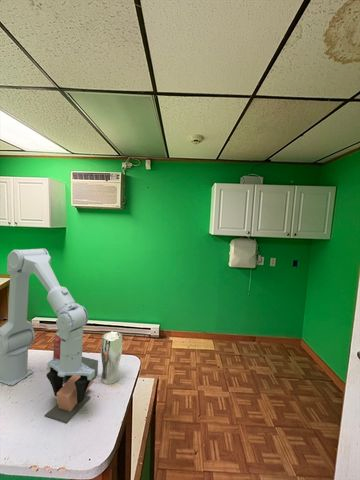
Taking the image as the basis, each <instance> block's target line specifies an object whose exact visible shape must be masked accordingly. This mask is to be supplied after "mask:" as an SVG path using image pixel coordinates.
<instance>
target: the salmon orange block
mask: <svg viewBox="0 0 360 480" xmlns="http://www.w3.org/2000/svg"><path fill="white" fill-rule="evenodd" d="M79 378H80V376H78V375H73V376H72V377H71V378H70V379H68V380H67V381H66V382H65V383H64V384H63V387H62V388H61V389H60V390H59V391H58V392H57V393H56V394H57V397H56V401H57V404H58V408H60V409H64V410H67V411H70V412H71V410H72V409H73V408H74V407H75V405H76V404H77V389H76V386H75V381H77V380H78V379H79ZM93 382H94V381H93V380H92V379H91V381H90V383H89V385H88V388H87V390H86V392H87V391H88V389H90V387H91V386H92V384H93Z"/></svg>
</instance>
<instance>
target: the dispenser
mask: <svg viewBox="0 0 360 480" xmlns="http://www.w3.org/2000/svg"><path fill="white" fill-rule="evenodd" d="M82 363H83V364H85V365H86V366H88V367H89V368H91V369H94V370H95V376H94V377H93V378H92V381H93V380H94V379H95V378H96V377H98V372H99V369H98V368H99V360H98V359H93V358H89V357H85V356H82ZM72 376H73V375H66V376H64V379H63V384H65V383H66V382H67V381H68V380H69V379H70V378H71V377H72Z"/></svg>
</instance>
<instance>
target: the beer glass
mask: <svg viewBox="0 0 360 480" xmlns="http://www.w3.org/2000/svg"><path fill="white" fill-rule="evenodd" d="M122 352H123V334H122V333H121V332H119V331H109V332H106V333H104V334H103V335H102V336H101V345H100V358H101V365H102V373H101V376H100V382H101V383H102V384H104V385H113V384H115V383H118V381H119V380H120V372H119V371H120V370H119V368H120V362H121V357H122V354H123V353H122Z"/></svg>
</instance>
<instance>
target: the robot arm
mask: <svg viewBox="0 0 360 480" xmlns="http://www.w3.org/2000/svg"><path fill="white" fill-rule="evenodd" d="M51 260H52V256H50V253H49V251H48V250H47V249H46V248H43V247H42V248H31V249H12V251H10V252H9V254H8V255H7V262H6V263H7V264H6V273H7V274H9V275H10V276H9V291H8V293H9V295H8V310H7V311H8V313H7V322H6V323H5V324H4V325H3V326H1V327H0V383H2V384H5V385H8V386H14V385H16V384H17V383H19V382H21V381H22V380H23V379H25V378H27V377H29V376H30V375H32V374H33V373H34V370H35V369H34V370H33V369H29V368H28V367H29V366H28V365H29V364H28V361H29V357H28V356H29V349H30V348H31V345H32V344H34V341H35V338H36V335H35V330H34V324H33V322H31V321H29V320H28V319H27V318H28V306H29V288H30V287H29V281H30V276H31V275H32V274H34V275H35V276H36V278H37V279H38V280H39V282H40V283H41V284H42V286H43V287H44V289H45V290H46V291H47V293H48V294H47V296H46V301H48V303H49V305H50V307H51V308H52V310H53V312H54V314H55V315H56V317H57V319H56V323H55V324H56V327H57V331H59V337H60V338H61V343H60V360H53V358H52V359H51V360H50V361H47V363H46V369H47V370H48V371H49V372H47V373H46V378H47V379H48V382H49V383H50V385H51V387H52V391H53V395H54V397H56V398H57V394H56V393H57V392H58V391H59V390H60V389H61V388H62V387H63V386H64V383H63V379H64V376H66V375H78V376H80V378H79V379H78V380H77V381H75V386H76V389H77V403H81V402H82V401H83V400H84V397H85V395H86V393H87V391H88V390H87V388H88V385H89V383H90V381H91V379H92V378H93V377H94V376H95V370H94V369H91V368H89V367H88V366H86V365H85V364H83V363H82V357H83V343H84V341H83V340H84V326H86V325H87V324H88V321H89V314H88V311H87V309H86V308H85V307H84V306H83V305H80V303H76V300H75V299H74V298H73V296H72V294H71V292H70V291H69V290H68V288H67V287H66V286H61V285H60V282H59V281H58V278H57V277H56V274H55V271H54V270H53V268H52V267H51V262H52V261H51ZM88 389H89V388H88ZM86 390H87V391H86Z"/></svg>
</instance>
